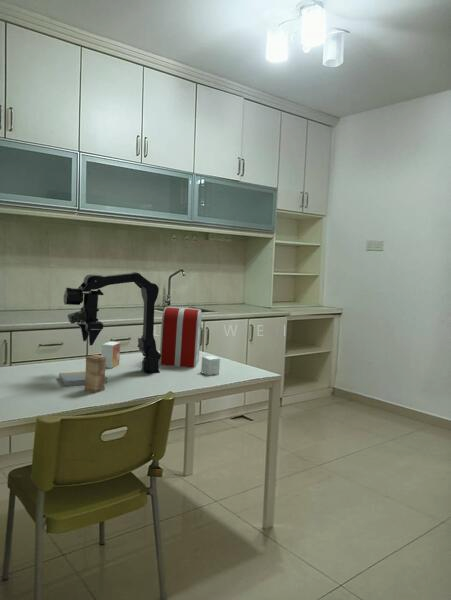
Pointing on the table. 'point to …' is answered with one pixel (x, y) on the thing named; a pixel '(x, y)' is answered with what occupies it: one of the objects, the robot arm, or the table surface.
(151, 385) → the table surface
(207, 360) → the product box
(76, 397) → the table surface
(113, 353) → the small box
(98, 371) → the brown block
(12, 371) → the table surface
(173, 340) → the red striped box
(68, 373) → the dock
